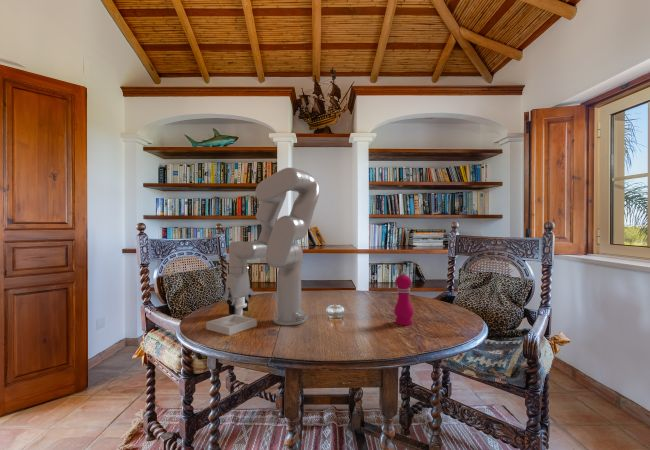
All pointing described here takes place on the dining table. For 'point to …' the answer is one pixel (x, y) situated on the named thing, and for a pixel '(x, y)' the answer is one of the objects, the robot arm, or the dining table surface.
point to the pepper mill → (403, 300)
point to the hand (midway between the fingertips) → (238, 312)
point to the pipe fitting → (239, 305)
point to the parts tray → (231, 324)
